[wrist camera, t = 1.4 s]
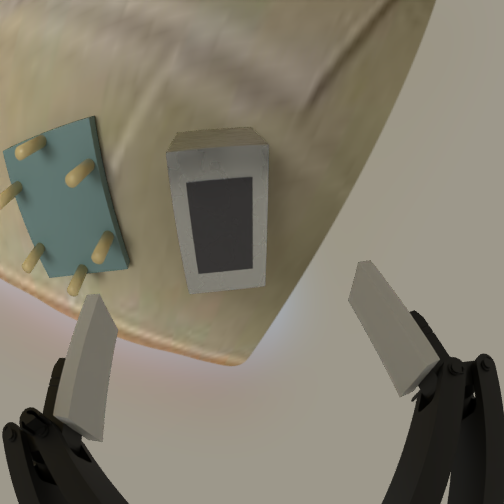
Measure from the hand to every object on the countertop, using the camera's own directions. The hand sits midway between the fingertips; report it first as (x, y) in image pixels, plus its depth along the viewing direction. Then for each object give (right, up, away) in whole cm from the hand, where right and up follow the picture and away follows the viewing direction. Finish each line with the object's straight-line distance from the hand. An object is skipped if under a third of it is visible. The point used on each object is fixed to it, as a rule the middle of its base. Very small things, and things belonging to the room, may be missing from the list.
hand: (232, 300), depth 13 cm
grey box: (-2, +8, +10) cm, 13 cm away
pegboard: (-17, +7, +8) cm, 20 cm away
